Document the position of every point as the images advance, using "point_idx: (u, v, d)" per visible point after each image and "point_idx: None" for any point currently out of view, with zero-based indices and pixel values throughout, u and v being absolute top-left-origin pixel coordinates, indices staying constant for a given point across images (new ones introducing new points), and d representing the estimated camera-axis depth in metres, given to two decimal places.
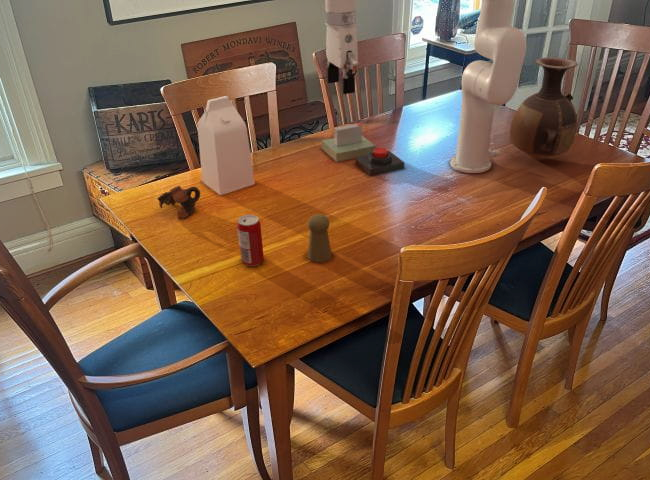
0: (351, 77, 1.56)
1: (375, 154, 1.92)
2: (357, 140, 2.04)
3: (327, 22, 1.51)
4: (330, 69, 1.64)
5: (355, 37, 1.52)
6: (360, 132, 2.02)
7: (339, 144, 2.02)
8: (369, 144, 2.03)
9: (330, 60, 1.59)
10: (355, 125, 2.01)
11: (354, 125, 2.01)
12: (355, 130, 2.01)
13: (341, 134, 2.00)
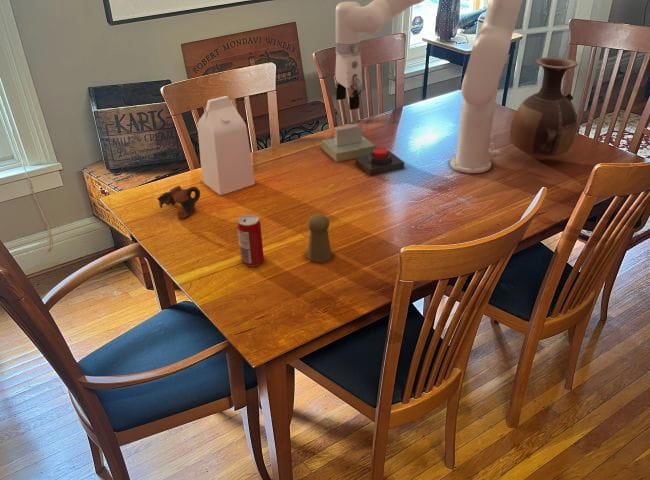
0: (356, 96, 1.89)
1: (375, 154, 1.92)
2: (357, 140, 2.04)
3: (337, 51, 1.84)
4: (338, 88, 1.96)
5: (360, 63, 1.85)
6: (360, 132, 2.02)
7: (339, 144, 2.02)
8: (369, 144, 2.03)
9: (339, 81, 1.92)
10: (355, 125, 2.01)
11: (354, 125, 2.01)
12: (355, 130, 2.01)
13: (341, 134, 2.00)
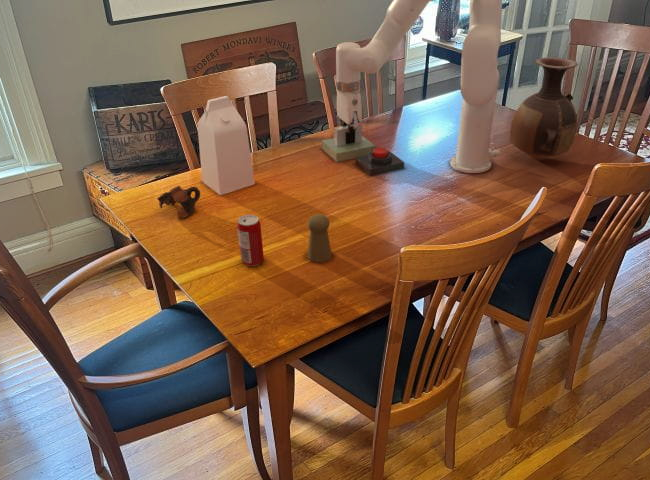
0: (352, 132, 1.99)
1: (375, 154, 1.92)
2: (357, 140, 2.04)
3: (338, 89, 1.92)
4: None
5: (360, 100, 1.92)
6: (360, 132, 2.02)
7: (339, 144, 2.02)
8: (369, 144, 2.03)
9: (340, 116, 2.00)
10: None
11: None
12: None
13: (341, 134, 2.00)
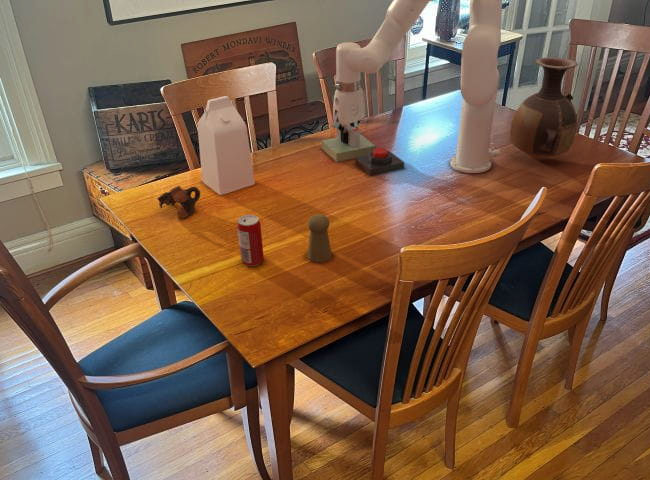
0: None
1: (375, 154, 1.92)
2: (351, 144, 2.01)
3: None
4: None
5: (340, 102, 1.92)
6: (353, 137, 1.99)
7: (338, 138, 2.05)
8: (369, 144, 2.03)
9: None
10: (353, 129, 1.99)
11: (353, 128, 1.99)
12: (349, 133, 2.00)
13: None
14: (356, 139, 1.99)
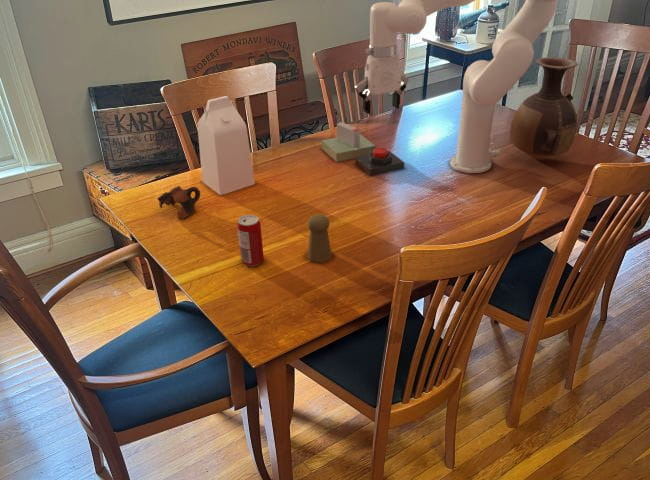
0: (363, 99, 1.81)
1: (375, 154, 1.92)
2: (351, 144, 2.01)
3: None
4: (393, 94, 1.85)
5: (371, 68, 1.75)
6: (353, 137, 1.99)
7: (338, 138, 2.05)
8: (369, 144, 2.03)
9: None
10: (353, 129, 1.99)
11: (353, 128, 1.99)
12: (349, 133, 2.00)
13: (339, 129, 2.03)
14: (356, 139, 1.99)
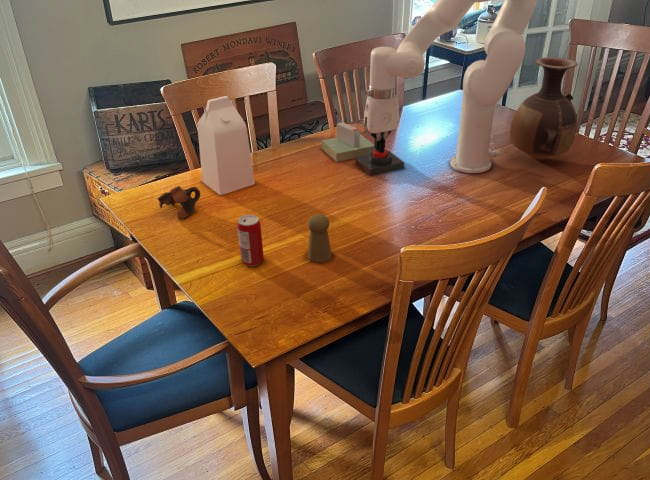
0: None
1: (375, 154, 1.92)
2: (351, 144, 2.01)
3: None
4: None
5: (370, 109, 1.81)
6: (353, 137, 1.99)
7: (338, 138, 2.05)
8: (369, 144, 2.03)
9: None
10: (353, 129, 1.99)
11: (353, 128, 1.99)
12: (349, 133, 2.00)
13: (339, 129, 2.03)
14: (356, 139, 1.99)
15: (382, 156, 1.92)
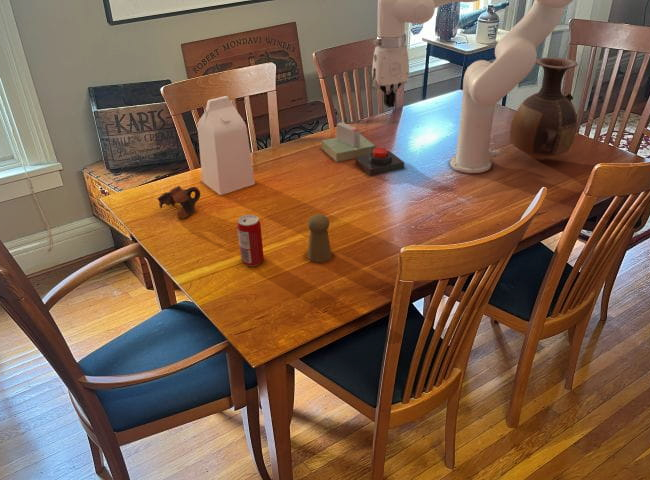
0: None
1: (375, 154, 1.92)
2: (351, 144, 2.01)
3: None
4: None
5: (379, 59, 1.73)
6: (353, 137, 1.99)
7: (338, 138, 2.05)
8: (369, 144, 2.03)
9: None
10: (353, 129, 1.99)
11: (353, 128, 1.99)
12: (349, 133, 2.00)
13: (339, 129, 2.03)
14: (356, 139, 1.99)
15: (382, 156, 1.92)
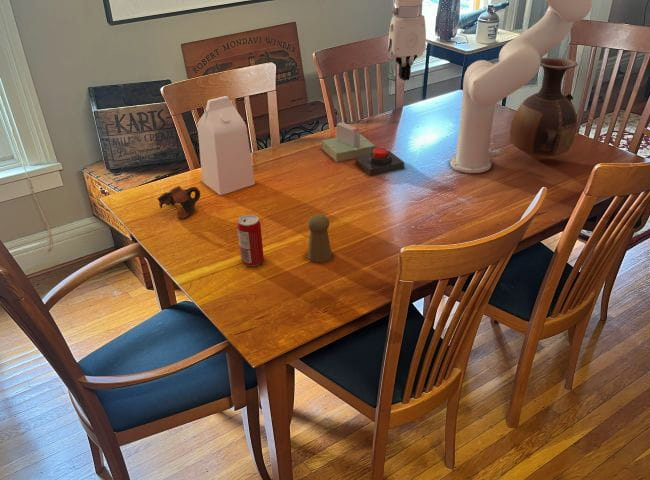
0: None
1: (375, 154, 1.92)
2: (351, 144, 2.01)
3: None
4: None
5: (395, 29, 1.69)
6: (353, 137, 1.99)
7: (338, 138, 2.05)
8: (369, 144, 2.03)
9: None
10: (353, 129, 1.99)
11: (353, 128, 1.99)
12: (349, 133, 2.00)
13: (339, 129, 2.03)
14: (356, 139, 1.99)
15: (382, 156, 1.92)
